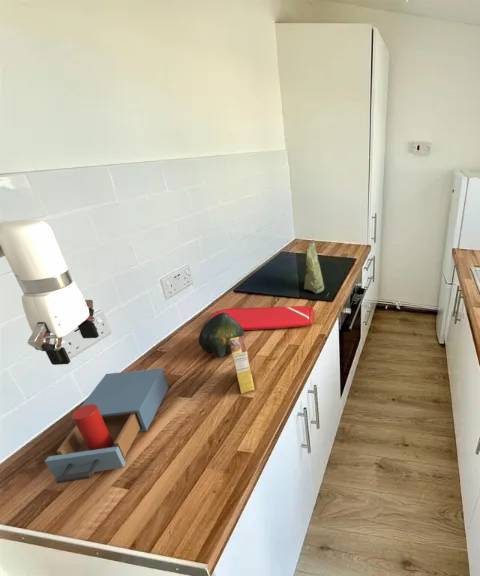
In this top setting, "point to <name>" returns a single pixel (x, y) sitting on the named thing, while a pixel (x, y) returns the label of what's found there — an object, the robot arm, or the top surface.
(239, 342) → the candy box
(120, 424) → the drawer
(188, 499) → the top surface
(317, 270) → the pale green cone
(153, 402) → the cabinet
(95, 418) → the tin
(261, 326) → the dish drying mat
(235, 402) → the top surface
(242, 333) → the squash
